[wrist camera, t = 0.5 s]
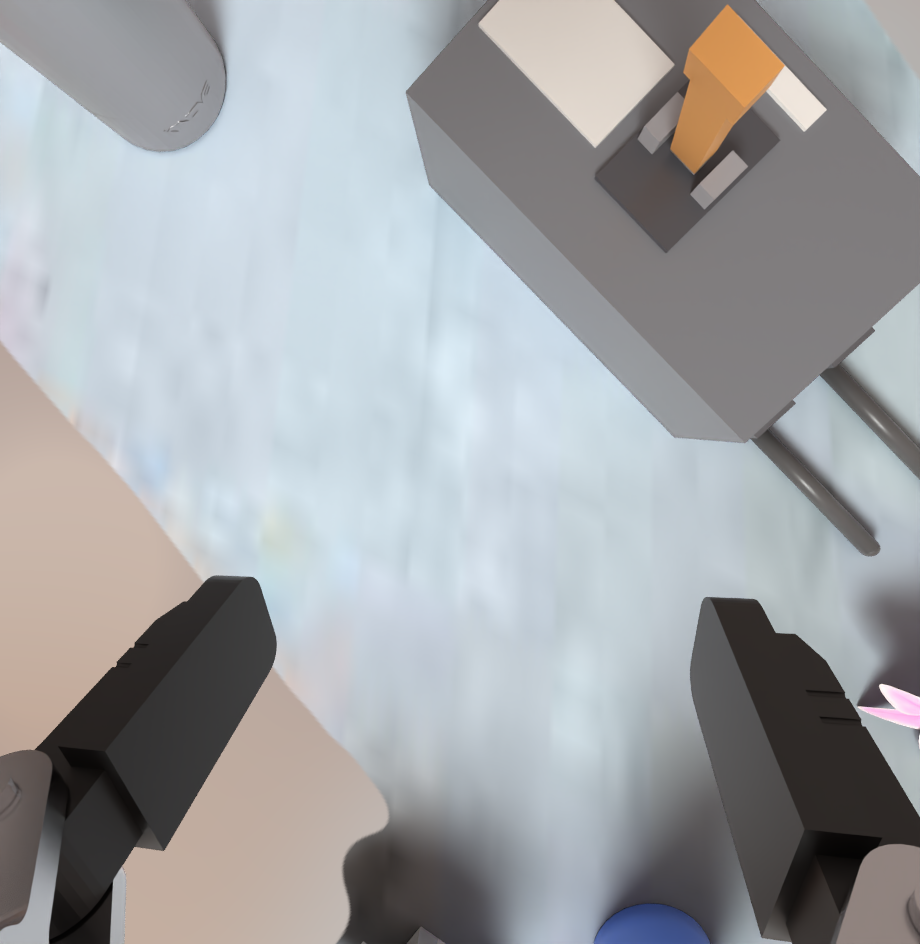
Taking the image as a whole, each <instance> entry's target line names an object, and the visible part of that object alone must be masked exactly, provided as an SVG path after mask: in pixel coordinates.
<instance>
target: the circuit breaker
mask: <svg viewBox="0 0 920 944" xmlns="http://www.w3.org/2000/svg"><path fill="white" fill-rule="evenodd" d="M361 944H366V943H365V942H362V943H361ZM407 944H446V943H444V942H443V941H441V940H440V939H438V938H437V937H436V936H434V935H433V934H431V933H430V932H428V931H427V930H426V929H424V928H423V927H420V928H419V929H418V930H417V931H416V933H415V934H414V935H413V936H412V938H411V939H410V940H409V941H408V943H407Z"/></svg>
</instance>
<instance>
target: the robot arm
mask: <svg viewBox="0 0 920 944" xmlns="http://www.w3.org/2000/svg"><path fill="white" fill-rule="evenodd" d="M0 42H1V43H2V44H3V45H4V46H6V47H7V48H8V49H10V50H11V51H12V52H13V53H15V54H16V55H17V56H19V57H20V58H21V59H22V60H24V61H25V62H26V63H28V64H29V65H30V66H31V67H33V68H34V69H35V70H37V71H38V72H39V73H40V74H42V75H43V76H44V77H46V78H47V79H48V80H49V81H51V82H52V83H53V84H54V85H56V86H57V87H58V88H60V89H61V90H62V91H63V92H65V93H66V94H67V95H69V96H70V97H71V98H72V99H74V100H75V101H76V102H77V103H79V104H80V105H81V106H82V107H84V108H85V109H86V110H88V111H89V112H90V113H91V114H93V115H94V116H95V117H97V118H98V119H99V120H100V121H102V122H103V123H104V124H106V125H107V126H108V127H109V128H111V129H112V130H113V131H115V132H116V133H117V134H119V135H120V136H121V137H123V138H124V139H125V140H127V141H128V142H130V143H131V144H133V145H135V146H138V147H140V148H143V149H145V150H151V151H157V152H164V151H174V150H177V149H180V148H184V147H186V146H188V145H190V144H192V143H193V142H195V141H197V140H198V139H199V138H200V137H201V136H202V135H204V134H205V133H206V132H207V131H208V130H209V128H210V127H211V125H212V124H213V123H214V121H215V120H216V118H217V116H218V114H219V111H220V109H221V106H222V104H223V99H224V94H225V69H224V64H223V59H222V56H221V54H220V51H219V49H218V46H217V44H216V43H215V41H214V40H213V38H212V37H211V35H210V33H209V32H208V31H207V29H206V28H205V26H204V25H203V24H202V22H201V21H200V19H199V18H198V17H197V15H196V14H195V13H194V11H193V10H192V8H191V7H190V6H189V4H188V3H187V1H186V0H0ZM276 647H277V642H276V635H275V632H274V629H273V626H272V622H271V619H270V616H269V613H268V610H267V606H266V603H265V600H264V597H263V593H262V590H261V587H260V585H259V583H258V581H257V580H256V579H255V578H253V577H241V576H212V577H210V578H209V579H207V580H206V581H205V582H204V583H203V585H202V586H201V587H200V588H199V589H198V590H197V591H196V592H195V594H194V595H193V596H192V597H191V598H190V599H189V600H188V601H187V602H182V603H181V604H179V605H178V606H176V607H175V608H173V609H172V610H170V611H169V612H167V613H166V614H165V615H163V616H161V617H160V618H158V619H157V620H156V621H155V622H154V623H153V624H152V625H151V626H150V627H149V628H148V629H147V630H146V631H145V632H144V634H143V635H142V636H141V637H140V638H139V639H138V640H137V641H136V642H135V646H134V648H129V650H128V651H127V652H126V653H125V654H124V655H123V656H122V657H121V658H120V659H119V660H118V661H117V666H116V667H112V668H111V669H110V670H109V671H108V672H107V673H106V674H105V675H104V677H102V679H101V680H100V681H99V682H98V683H97V684H96V685H95V686H94V687H93V688H92V689H91V690H90V691H89V693H88V694H87V695H86V696H85V697H84V698H83V699H82V700H81V701H80V702H79V703H78V704H77V706H75V708H74V709H73V710H72V711H71V712H70V713H69V714H68V715H67V716H66V717H65V718H64V719H63V720H62V722H61V723H60V724H59V725H58V726H57V727H56V728H55V729H54V730H53V731H52V732H51V733H50V734H49V736H48V737H47V738H46V739H45V740H44V741H43V742H42V743H41V744H40V745H39V746H38V747H37V748H36V749H35V750H22V751H17V752H13V753H9V754H6V755H4V756H1V757H0V944H124V937H125V905H126V874H125V871H124V868H123V867H122V865H123V864H124V862H125V861H126V859H127V858H128V856H129V854H130V853H131V851H132V850H133V848H134V847H140V848H147V849H155V850H161V851H164V850H165V848H166V846H167V845H168V843H169V842H170V840H171V838H172V836H173V835H174V833H175V831H176V830H177V828H178V826H179V825H180V823H181V821H182V820H183V818H184V816H185V814H186V813H187V811H188V809H189V808H190V806H191V804H192V803H193V801H194V799H195V797H196V796H197V794H198V792H199V791H200V789H201V787H202V785H203V784H204V782H205V780H206V779H207V777H208V775H209V774H210V772H211V770H212V769H213V767H214V765H215V763H216V762H217V760H218V758H219V757H220V755H221V753H222V752H223V750H224V748H225V747H226V745H227V743H228V741H229V740H230V738H231V736H232V735H233V733H234V731H235V730H236V728H237V726H238V724H239V723H240V721H241V719H242V718H243V716H244V714H245V713H246V711H247V709H248V707H249V705H250V704H251V702H252V701H253V699H254V697H255V696H256V694H257V692H258V690H259V689H260V687H261V685H262V684H263V682H264V680H265V679H266V677H267V675H268V673H269V672H270V670H271V668H272V666H273V663H274V660H275V655H276ZM690 681H691V691H692V697H693V701H694V705H695V709H696V712H697V716H698V719H699V723H700V726H701V729H702V733H703V736H704V740H705V743H706V747H707V750H708V754H709V757H710V761H711V764H712V768H713V771H714V774H715V778H716V781H717V785H718V788H719V792H720V795H721V799H722V802H723V806H724V809H725V813H726V816H727V820H728V823H729V826H730V830H731V833H732V837H733V840H734V844H735V847H736V851H737V854H738V858H739V861H740V865H741V868H742V871H743V875H744V878H745V882H746V885H747V889H748V892H749V896H750V899H751V903H752V906H753V910H754V913H755V916H756V920H757V923H758V927H759V930H760V934H761V937H762V938H766V939H773V940H780V941H788V942H792V944H920V817H919V815H918V813H917V812H916V810H915V808H914V807H913V805H912V803H911V802H910V800H909V798H908V797H907V795H906V793H905V792H904V790H903V788H902V787H901V785H900V783H899V782H898V780H897V778H896V777H895V775H894V773H893V772H892V770H891V768H890V767H889V765H888V763H887V762H886V760H885V758H884V757H883V755H882V753H881V752H880V750H879V748H878V747H877V745H876V743H875V742H874V740H873V738H872V737H871V735H870V733H869V732H868V730H867V728H866V727H863V726H862V724H861V718H860V717H859V715H858V713H857V712H856V710H855V708H854V707H853V705H852V703H851V702H850V700H849V699H846V698H845V692H844V690H843V688H842V687H841V685H840V683H839V682H838V680H837V678H836V677H835V675H834V674H833V672H832V670H831V669H830V667H829V665H828V664H827V662H826V661H825V660H824V659H823V658H822V657H821V656H820V655H819V654H817V653H816V652H815V651H814V650H813V649H812V648H811V647H810V646H808V645H807V644H806V643H805V642H804V641H803V640H802V639H801V638H799V637H798V636H797V635H796V634H782V633H775V631H774V629H773V627H772V625H771V623H770V621H769V619H768V618H767V616H766V614H765V612H764V610H763V608H762V606H761V605H760V603H759V602H758V601H757V600H755V599H741V598H717V597H705V598H704V599H703V601H702V604H701V609H700V614H699V620H698V625H697V631H696V637H695V642H694V648H693V653H692V659H691V666H690Z"/></svg>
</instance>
